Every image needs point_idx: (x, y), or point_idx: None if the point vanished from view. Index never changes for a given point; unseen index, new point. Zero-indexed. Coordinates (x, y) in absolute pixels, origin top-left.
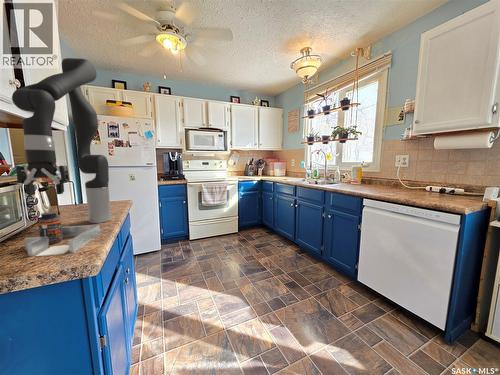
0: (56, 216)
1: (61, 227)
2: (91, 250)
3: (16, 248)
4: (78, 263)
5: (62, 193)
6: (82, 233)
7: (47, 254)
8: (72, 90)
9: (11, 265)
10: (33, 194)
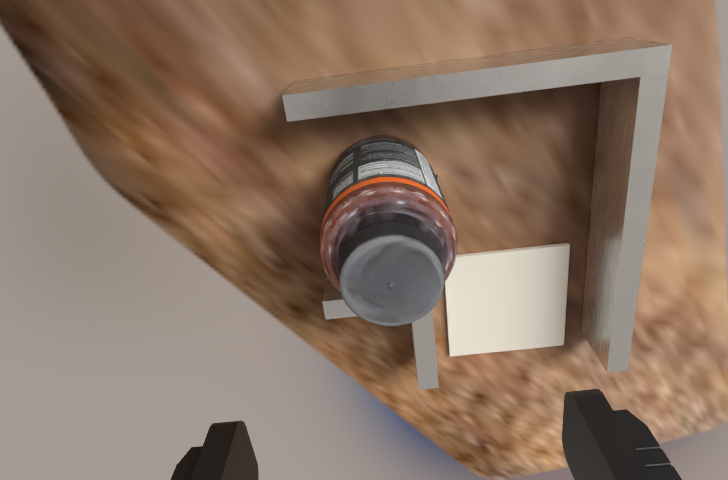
0: (438, 248)
1: (378, 102)
2: (675, 315)
3: (253, 253)
4: (670, 419)
5: (596, 394)
6: (627, 263)
7: (495, 349)
8: None
9: (417, 410)
10: (247, 443)
